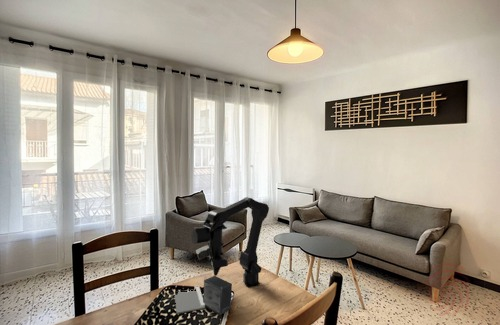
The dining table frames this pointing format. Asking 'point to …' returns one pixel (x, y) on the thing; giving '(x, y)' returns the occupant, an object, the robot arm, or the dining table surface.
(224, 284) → the small box
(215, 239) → the robot arm
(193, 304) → the mat
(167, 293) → the dining table surface
